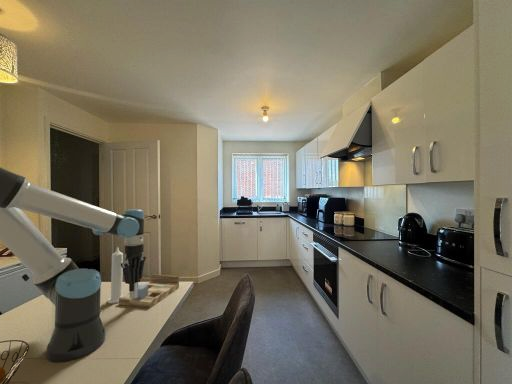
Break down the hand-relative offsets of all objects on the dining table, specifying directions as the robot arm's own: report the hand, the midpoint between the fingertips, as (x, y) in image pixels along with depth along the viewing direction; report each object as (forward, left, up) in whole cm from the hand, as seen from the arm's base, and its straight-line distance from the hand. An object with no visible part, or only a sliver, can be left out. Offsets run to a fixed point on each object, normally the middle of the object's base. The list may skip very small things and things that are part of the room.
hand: (133, 297), depth 102 cm
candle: (+4, +13, -4) cm, 14 cm away
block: (+5, 0, -2) cm, 5 cm away
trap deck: (+13, 0, -4) cm, 13 cm away
